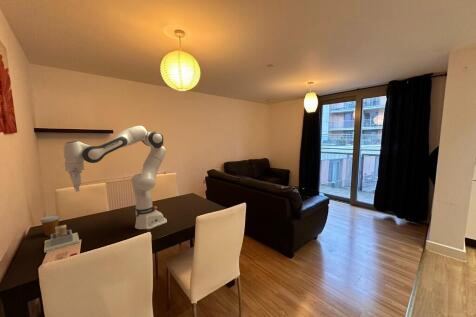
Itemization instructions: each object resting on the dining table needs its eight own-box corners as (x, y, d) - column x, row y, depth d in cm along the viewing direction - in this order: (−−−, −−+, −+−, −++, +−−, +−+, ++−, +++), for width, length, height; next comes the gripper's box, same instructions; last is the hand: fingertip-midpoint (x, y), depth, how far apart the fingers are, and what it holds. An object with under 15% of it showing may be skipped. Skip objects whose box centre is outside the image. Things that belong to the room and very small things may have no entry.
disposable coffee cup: (55, 229, 144) (54, 213, 143) (63, 231, 141) (62, 215, 139) (38, 235, 135) (37, 218, 134) (47, 238, 132) (45, 220, 131)
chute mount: (77, 234, 136) (76, 226, 136) (79, 242, 125) (78, 234, 125) (45, 243, 125) (44, 234, 125) (44, 252, 114) (43, 243, 114)
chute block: (67, 237, 129) (65, 224, 128) (67, 240, 125) (66, 226, 124) (56, 240, 125) (55, 226, 124) (56, 243, 122) (55, 229, 121)
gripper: (83, 168, 116) (85, 192, 117) (79, 165, 130) (81, 186, 132) (69, 170, 111) (71, 194, 113) (67, 166, 126) (69, 187, 127)
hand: (76, 189), depth 122 cm, fingers open, 8 cm apart
